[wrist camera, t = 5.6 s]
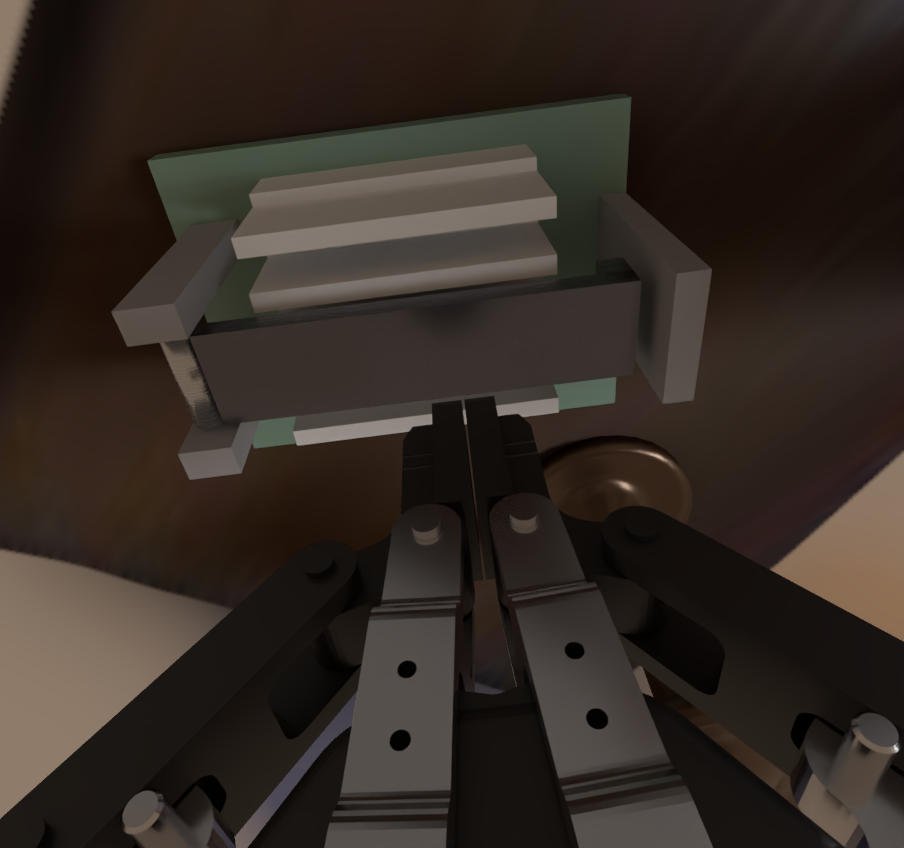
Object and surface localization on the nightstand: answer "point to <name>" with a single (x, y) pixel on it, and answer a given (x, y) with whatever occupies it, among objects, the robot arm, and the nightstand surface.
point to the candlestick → (659, 487)
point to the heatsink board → (412, 246)
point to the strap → (411, 348)
